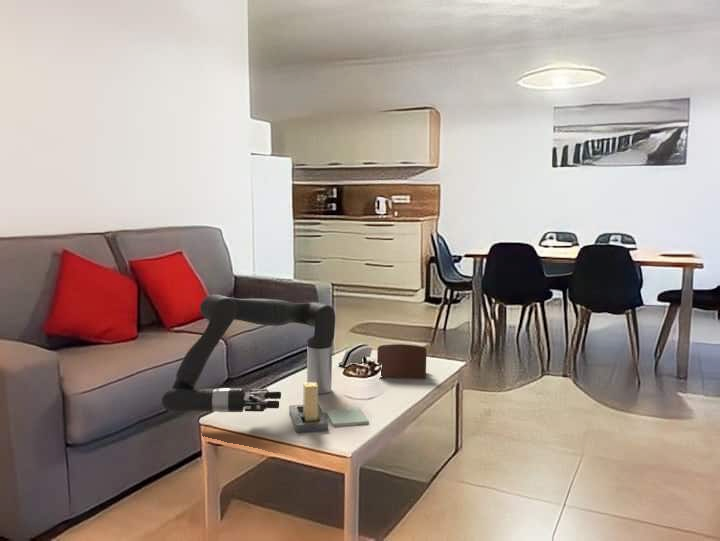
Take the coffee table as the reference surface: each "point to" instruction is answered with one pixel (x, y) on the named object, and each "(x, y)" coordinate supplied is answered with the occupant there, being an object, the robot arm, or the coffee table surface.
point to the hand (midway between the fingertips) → (280, 399)
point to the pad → (346, 417)
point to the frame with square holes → (301, 427)
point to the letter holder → (402, 361)
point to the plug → (310, 402)
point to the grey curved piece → (356, 354)
